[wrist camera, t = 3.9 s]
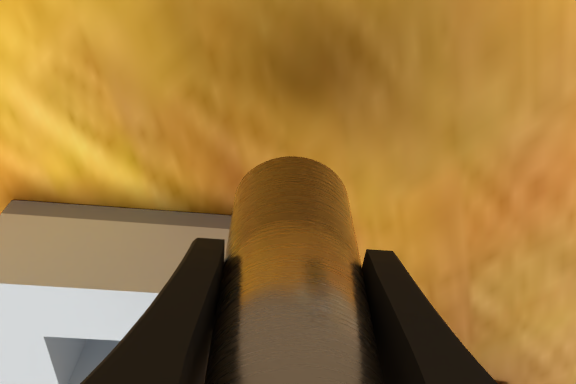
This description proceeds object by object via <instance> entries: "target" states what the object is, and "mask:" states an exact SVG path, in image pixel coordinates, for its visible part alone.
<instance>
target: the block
mask: <svg viewBox="0 0 576 384" xmlns="http://www.w3.org/2000/svg"><path fill="white" fill-rule="evenodd" d="M231 217H232V215H218V214H204V213H190V212H176V211H162V210H148V209H134V208H120V207H106V206H92V205H78V204H64V203H49V202H35V201H21V200H12V201H11V202H10V203H9V204H8V206H7V207H6V208H5V209H4V210H3V212H2V213H1V214H0V384H80V383H81V382H82V381H83V380H84V379H85V378H86V377H87V376H88V375H89V374H90V373H91V372H92V371H93V370H94V369H95V368H96V367H97V366H98V365H99V364H100V363H101V362H102V361H103V360H104V358H105V357H106V356H107V355H108V354H109V353H110V352H111V351H112V350H113V349H114V348H115V347H116V345H117V344H118V343H119V342H120V341H121V340H122V339H123V337H124V336H125V335H126V334H127V333H128V331H129V330H130V329H131V328H132V327H133V325H134V324H135V323H136V322H137V321H138V319H139V318H140V317H141V316H142V315H143V313H144V312H145V311H146V310H147V309H148V307H149V306H150V305H151V303H152V302H153V301H154V299H155V298H156V297H157V295H158V294H159V293H160V291H161V290H162V288H163V287H164V286H165V284H166V283H167V282H168V280H169V279H170V277H171V276H172V274H173V273H174V271H175V270H176V268H177V267H178V265H179V264H180V262H181V261H182V259H183V257H184V256H185V254H186V252H187V251H188V249H189V247H190V245H191V243H192V242H193V241H194V240H195V239H196V238H211V239H225V249H224V260H225V254H226V248H227V242H228V235H229V229H230V223H231Z"/></svg>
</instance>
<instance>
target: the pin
mask: <svg viewBox="0 0 576 384" xmlns="http://www.w3.org/2000/svg"><path fill="white" fill-rule="evenodd" d="M204 384H384V381H383V376H382V371H381V366H380V361H379V356H378V351H377V345H376V340H375V335H374V330H373V325H372V320H371V314H370V309H369V304H368V299H367V294H366V289H365V283H364V278H363V273H362V268H361V263H360V258H359V253H358V247H357V242H356V237H355V232H354V227H353V222H352V216H351V211H350V206H349V201H348V196H347V191H346V189H345V186H344V184H343V183H342V181H341V179H340V178H339V177H338V176H337V175H336V174H335V173H334V172H333V171H332V170H331V169H329V168H328V167H327V166H325V165H323V164H321V163H319V162H317V161H314V160H311V159H308V158H303V157H280V158H276V159H272V160H269V161H266V162H264V163H262V164H260V165H258V166H256V167H255V168H253V169H252V170H251V171H250V172H249V173H247V175H246V176H245V177H244V178H243V179H242V181H241V182H240V184H239V186H238V188H237V190H236V194H235V199H234V205H233V211H232V217H231V223H230V229H229V235H228V242H227V248H226V254H225V260H224V267H223V273H222V279H221V285H220V291H219V297H218V303H217V309H216V315H215V321H214V327H213V333H212V339H211V345H210V352H209V358H208V364H207V370H206V376H205V382H204Z"/></svg>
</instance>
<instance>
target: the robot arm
mask: <svg viewBox="0 0 576 384" xmlns="http://www.w3.org/2000/svg"><path fill="white" fill-rule="evenodd" d="M224 249H225V239H211V238H196V239H195V240H194V241H193V242H192V243H191V245H190V247H189V249H188V251H187V252H186V254H185V256H184V257H183V259H182V261H181V262H180V264H179V265H178V267H177V268H176V270H175V271H174V273H173V274H172V276H171V277H170V279H169V280H168V282H167V283H166V284H165V286H164V287H163V288H162V290H161V291H160V293H159V294H158V295H157V297H156V298H155V299H154V301H153V302H152V303H151V305H150V306H149V307H148V309H147V310H146V311H145V312H144V313H143V315H142V316H141V317H140V318H139V319H138V321H137V322H136V323H135V324H134V325H133V327H132V328H131V329H130V330H129V331H128V333H127V334H126V335H125V336H124V337H123V339H122V340H121V341H120V342H119V343H118V344H117V345H116V347H115V348H114V349H113V350H112V351H111V352H110V353H109V354H108V355H107V356H106V357H105V358H104V360H103V361H102V362H101V363H100V364H99V365H98V366H97V367H96V368H95V369H94V370H93V371H92V372H91V373H90V374H89V375H88V376H87V377H86V378H85V379H84V380H83V381H82V382H81V383H80V384H204V382H205V376H206V370H207V364H208V358H209V352H210V345H211V339H212V333H213V327H214V321H215V315H216V309H217V303H218V297H219V291H220V285H221V279H222V273H223V267H224ZM362 273H363V278H364V283H365V289H366V294H367V299H368V304H369V309H370V314H371V320H372V325H373V330H374V335H375V340H376V345H377V351H378V356H379V361H380V366H381V371H382V376H383V381H384V384H498V383H497V382H496V381H495V380H494V379H493V378H492V377H491V376H490V375H489V374H488V373H487V372H486V371H485V369H484V368H483V367H482V366H481V365H480V364H479V363H478V362H477V360H476V359H475V358H474V357H473V356H472V355H471V353H470V352H469V351H468V350H467V349H466V348H465V346H464V345H463V344H462V343H461V342H460V340H459V339H458V338H457V337H456V336H455V334H454V333H453V332H452V331H451V329H450V328H449V327H448V326H447V324H446V323H445V322H444V320H443V319H442V318H441V317H440V315H439V314H438V313H437V311H436V310H435V309H434V308H433V306H432V305H431V304H430V302H429V301H428V299H427V298H426V297H425V295H424V294H423V293H422V291H421V290H420V288H419V287H418V286H417V284H416V283H415V282H414V280H413V279H412V277H411V276H410V274H409V273H408V272H407V270H406V269H405V267H404V266H403V264H402V263H401V262H400V260H399V259H398V257H397V256H396V255H395V253H394V252H393V251H383V250H369V249H367V250H366V254H365V258H364V262H363V266H362Z"/></svg>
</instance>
